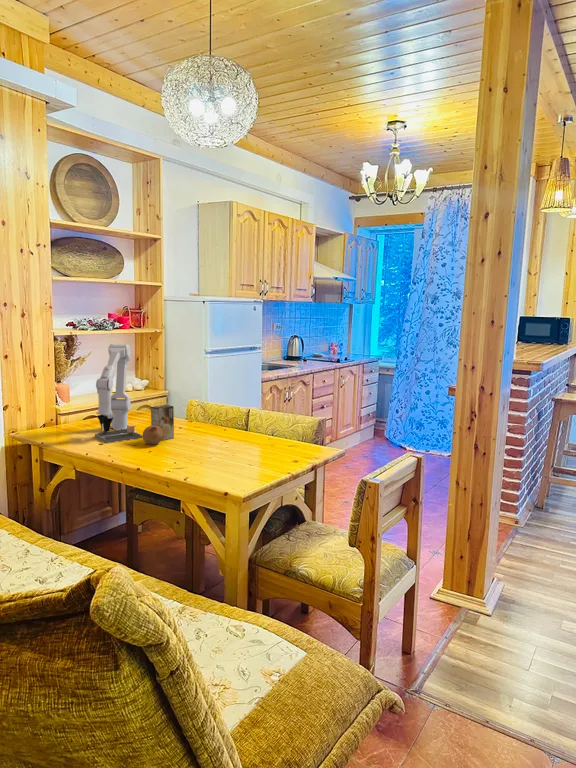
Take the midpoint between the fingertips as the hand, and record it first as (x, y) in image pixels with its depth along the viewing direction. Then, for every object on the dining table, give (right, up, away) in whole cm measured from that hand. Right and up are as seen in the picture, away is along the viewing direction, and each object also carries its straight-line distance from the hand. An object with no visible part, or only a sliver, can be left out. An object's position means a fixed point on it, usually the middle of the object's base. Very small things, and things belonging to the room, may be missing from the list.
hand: (105, 430), depth 260 cm
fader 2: (+13, -2, -2) cm, 13 cm away
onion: (+26, -6, -10) cm, 28 cm away
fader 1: (0, -2, 0) cm, 2 cm away
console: (+6, -4, 0) cm, 7 cm away
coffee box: (+28, -4, +1) cm, 28 cm away
